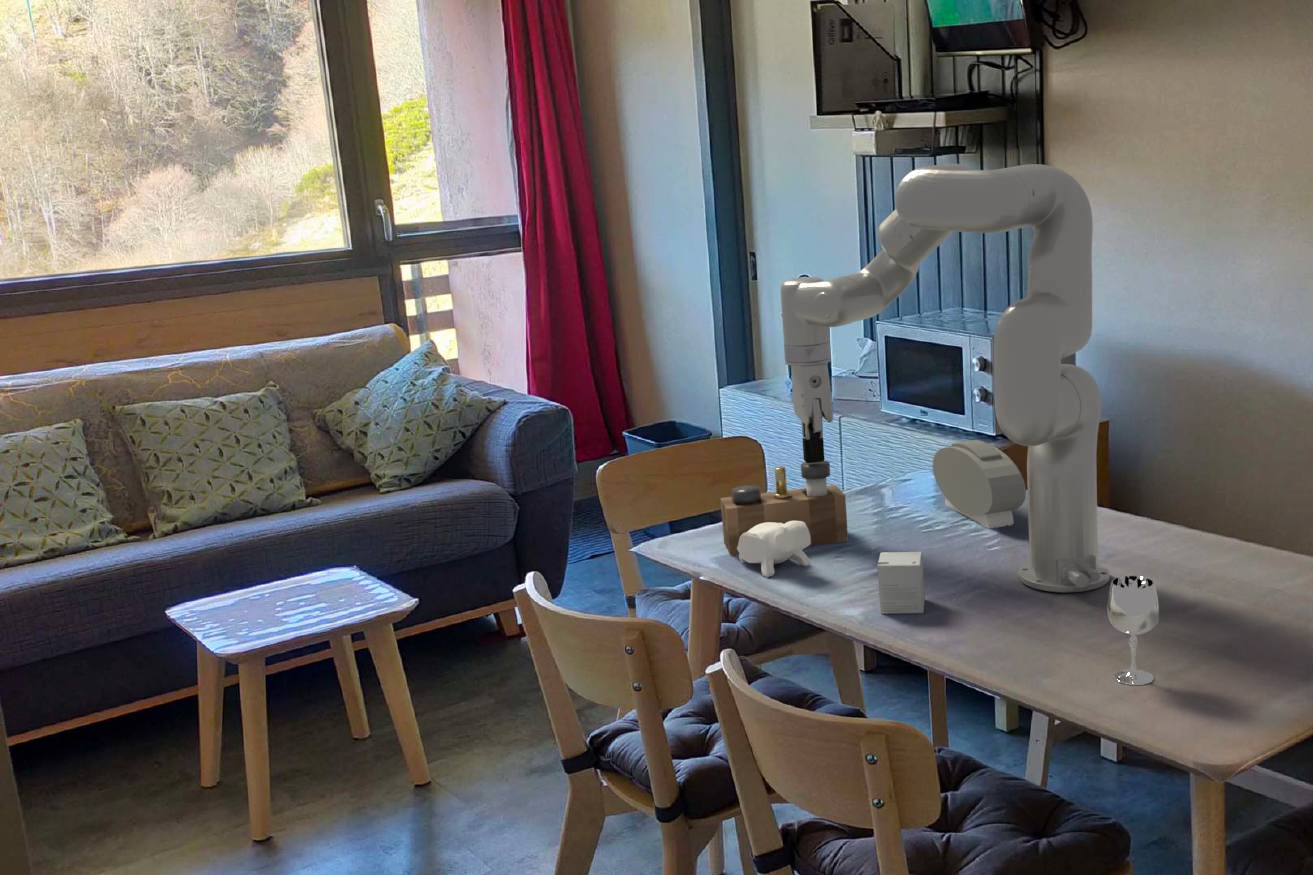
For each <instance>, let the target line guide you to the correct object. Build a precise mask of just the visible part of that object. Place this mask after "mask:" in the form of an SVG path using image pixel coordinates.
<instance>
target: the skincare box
mask: <svg viewBox="0 0 1313 875" xmlns="http://www.w3.org/2000/svg"><path fill="white" fill-rule="evenodd" d="M923 560H924V559H923V552H922V551H905V552H904V551H903V552H902V551H901V552H900V551H898V552H897V551H896V552H895V551H894V552H893V551H892V552H891V551H890V552H889V551H888V552H886V551H885V552H880V554H879V558H878V562H877V565H876V568H877V571H876V572H877V581H878V582H877V583H878V592H879V593H878V594H879V607H880V614H881V615H887V614H888V615H893V614H894V615H896V614H899V615H900V614H901V615H902V614H924V612H925V611H924V609H925V603H926V602H925V601H926V600H925V599H926V594H925V591H926V590H925V581H924V580H925V579H924V564H923V563H924V562H923Z"/></svg>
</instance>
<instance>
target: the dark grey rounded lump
mask: <svg viewBox="0 0 1313 875" xmlns="http://www.w3.org/2000/svg"><path fill="white" fill-rule="evenodd" d="M761 493H762V492H761V487H760V486H759V485H758V486H757V485H739V486H736V487H733V488H732V489H731V497H732V502H733V503H734V504H737V505H748V504H754V503H758V502H760V501H761Z"/></svg>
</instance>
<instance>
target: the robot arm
mask: <svg viewBox="0 0 1313 875" xmlns="http://www.w3.org/2000/svg"><path fill="white" fill-rule="evenodd" d="M894 205H895V209H894V210H892V212H891V213H890V214H889V215H888V216H887V217H886V218H885V219H884V220H883V221H882V222H881V223H880V225H879V226H878V229H877V240H878V243H879V244H880V247H881V248H882V249H881V250H880V251H879V253H877V255H876V256H875V257H874V258H873V259H872V260H871V261H870V262H869V263H867V264H866V266H865V267H864V268H862V269H861V270H860V271H859V272H857V273H852V274H846V275H844V276H839V277H837V278H836V277H835V278H831V279H827V280H824V279H823V278H821V277H818V276H817V277H815V276H813V277H812V276H808V277H807V276H804V277H796V278H795V277H794V278H791V279H789V278H788V279H787V280H785V281H784V282H782V284H781V287H780V303H781V319H782V321H781V322H782V331H783V332H782V334H783V346H784V364H785V365H786V366H790V367H791V371H790V372H791V389H792V391H791V392H792V402H793V411H794V415H795V416H796V417H797V418H798V419H799V420H800V421H801V423H800V424H801V434H802V438H801V439H802V450H803V451H802V452H803V453H802V456H803V461H804V462H806V463H815V462H823V461H825V446H824V445H825V444H824V443H825V442H824V438H823V437H824V433H823V432H824V428H823V425H824V424H823V419H824V420H825V421H827V423H832V422H833V421H834V411H833V409H834V408H833V400H832V391H831V382H830V375H829V374H830V373H829V369H828V363H831V361H832V355H831V354H832V353H831V341H830V340H831V339H830V328H837V327H842V326H846V325H849V324H852V323H855V322H859V321H863V320H867V319H871V318H874V317H875V316H877V315H879V314H880V313H882V312H883V311H884V310H885V309H887V307H889V306H890V305H891V304H892V303H893V302H894V301H895V300H896V299H897V298H898V297H900V296H901V294H903V292H904V291H906V290H907V288H908V287H909V286H910V285H911V284H912V282H913V281H914V280H915V277H916V275H917V273H918V271H919V269H920V265H921V264H922V263H923V261H925V260H926V258H928V257H929V256H930V255H931V254H932V253H933V252H934V251H935V250H936V249H937V248H938V247H939V246H941V244H942V243H943V242H944V241H946V240H947V238H949V236H951V235H952V234H953V233H954V232H962V233H975V234H977V233H978V234H996V233H997V234H1000V233H1005V232H1009V231H1014V230H1019V229H1023V228H1026V227H1029V228H1031V229H1032V231H1033V237H1032V241H1031V244H1030V248H1029V251H1028V258H1027V275H1028V276H1027V278H1028V279H1027V293H1026V297H1024V298H1021V299H1019V300H1016V301H1015V302H1014V303H1012V304H1010V305H1009V306H1008V307H1006V308H1005V310H1004V311H1003V312H1002V314H1001V316H1000V317H999V319H998V321H997V324H996V327H995V332H994V337H993V338H994V339H993V378H994V379H993V384H994V386H993V387H994V388H993V390H994V411H995V417H996V419H997V420H996V422H997V423H998V425H999V427H1000V429H1001V432H1003V434H1004V435H1005V436H1006V437H1007V439H1009V440H1010V441H1012V443H1015V444H1017V445H1020V446H1022V447H1023V446H1024V447H1028V448H1027V455H1026V456H1027V457H1026V458H1027V459H1026V473H1027V474H1026V484H1027V485H1026V486H1027V490H1026V491H1027V512H1028V514H1027V517H1028V518H1027V519H1028V520H1027V521H1028V543H1029V545H1028V547H1029V548H1028V549H1029V562H1028V563H1025V564H1024V565H1023V566H1021V567H1020V568H1019V572H1018V578H1019V580H1020V582H1021V583H1023V584H1024V585H1025V586H1027V587H1029V588H1032V589H1034V590H1039V591H1045V592H1052V593H1080V592H1081V593H1082V592H1086V591H1087V592H1088V591H1091V590H1095V589H1098V588H1101V587H1103V586H1105V585H1106V584H1107V583H1109V581H1110V578H1111V577H1110V571H1109V568H1107V567H1106V566H1105V565H1103V564H1101V563H1099V552H1098V551H1099V549H1098V548H1099V546H1098V545H1099V544H1098V543H1099V542H1098V541H1099V539H1098V538H1099V537H1098V536H1099V535H1098V498H1097V497H1098V491H1097V489H1098V488H1097V487H1098V484H1097V483H1098V482H1097V476H1098V475H1097V473H1098V472H1097V448H1098V434H1099V428H1100V427H1099V426H1100V421H1101V420H1100V419H1101V413H1102V411H1101V410H1102V396H1101V390H1100V386H1099V385H1098V382H1097V381H1096V379H1095V378H1094V377H1093V376H1092V375H1091V373H1090V372H1088V371H1087V370H1086V369H1085V368H1083V367H1080V366H1079V365H1075V364H1069V363H1062V359H1065V358H1066V357H1067V358H1068V357H1069V356H1072V355H1074V354H1076V353H1077V352H1079V351H1081V350H1082V349H1084V348H1085V347H1086V345H1087V344H1088V343H1089V340H1090V339H1091V336H1092V329H1093V265H1092V263H1093V262H1092V261H1093V260H1092V259H1093V256H1092V254H1093V252H1092V251H1093V230H1094V229H1093V225H1094V224H1093V213H1092V207H1091V203H1090V199H1089V197H1088V195H1087V193H1086V192H1085V190H1084V188H1083V187H1082V185H1081V184H1080V183H1079V182H1078V180H1076V179H1075V178H1074V177H1073V176H1072V175H1070V174H1069V173H1067V172H1066V171H1064V170H1062V169H1060V168H1057V167H1055V166H1051V165H1047V164H1040V163H1039V164H1035V163H1034V164H1033V163H1032V164H1029V163H1028V164H1022V165H1016V166H1010V167H1004V168H997V169H990V170H989V169H981V170H980V169H974V170H973V169H972V168H970V167H968V166H965V164H964V165H963V164H960V163H954V162H953V163H942V164H936V165H935V164H934V165H928V166H921V167H918V168H915V169H913V170H911V171H910V172H909V173H907V174H906V175H905V176H904V177H903V178H902V179H901V180H900V182H899V183H898V185H897V188H896V191H895V195H894Z"/></svg>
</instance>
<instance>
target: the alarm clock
mask: <svg viewBox="0 0 1313 875" xmlns="http://www.w3.org/2000/svg"><path fill="white" fill-rule="evenodd" d="M932 472H933V476H934V479H935V482H936V485H937V486H938V488H939V490H940V492H941V493H942V495H943V496H944V499H945V500H944V505H945V506H947V507H949V508H951V509H952V510H954V511H956V512H958V513H959V514H961V515H963V516H964V517H966V518H968V519H970V520H972V521H974V522H975V523H977V522H978V523H977V524H979V523H980V524H979V525H981V526H983V527H984V528H986V527H987V529H988V530H989V528H990V529H995V528H994V527H996V528H1001V527H1002V528H1003V527H1007V526H1006V525H1008V526H1012V525H1011V524H1014V515H1013V511H1016V510H1017V509H1019V508H1020V507H1022V506H1023V505H1024V502H1025V500H1026V496H1027V495H1026V494H1027V490H1026V483H1025V480H1024V478H1023V475H1022V472H1021V471H1020V470H1019V468H1018V466H1017V465H1016V464H1015V462H1014V461H1013V460H1012V459H1011V458H1010V457H1009V455H1007V454H1006V453H1005V452H1003V451H1002V450H1001V449H999V448H997V447H995V446H994V445H992V444H989V443H987V442H985V441H982V440H978V439H973V440H965V441H959V442H953V443H952V444H951V446H947V447H943V448H941V449H938V451H937V452H936V453H935V454H934V455H933V458H932Z"/></svg>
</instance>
